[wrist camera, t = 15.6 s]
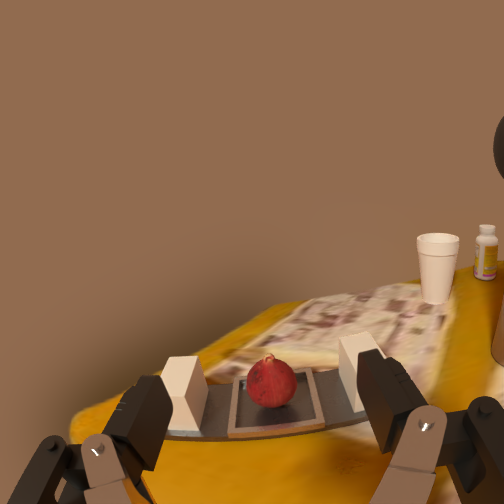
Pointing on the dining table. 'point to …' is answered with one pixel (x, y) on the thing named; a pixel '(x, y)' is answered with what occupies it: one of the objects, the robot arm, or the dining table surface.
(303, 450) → the dining table surface
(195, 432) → the mounting plate
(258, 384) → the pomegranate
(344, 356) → the mounted modules
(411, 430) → the robot arm
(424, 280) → the foam cup
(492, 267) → the supplement bottle
